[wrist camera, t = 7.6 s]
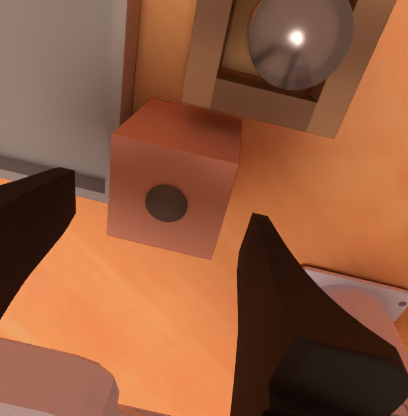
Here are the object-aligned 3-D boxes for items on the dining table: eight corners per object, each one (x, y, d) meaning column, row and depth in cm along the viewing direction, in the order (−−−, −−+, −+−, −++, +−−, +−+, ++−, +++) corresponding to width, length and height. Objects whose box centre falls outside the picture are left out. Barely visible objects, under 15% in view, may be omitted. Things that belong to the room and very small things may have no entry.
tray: (125, 188, 20) (114, 204, 19) (-44, 148, 20) (-70, 160, 18) (142, -18, 14) (128, -23, 13) (-96, -77, 14) (-143, -89, 13)
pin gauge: (297, 65, 15) (328, 99, 10) (241, 52, 15) (237, 78, 10) (319, -2, 14) (373, -12, 8) (257, -17, 14) (265, -37, 8)
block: (220, 196, 20) (211, 261, 15) (142, 178, 20) (106, 236, 15) (241, 119, 17) (239, 165, 12) (151, 97, 17) (110, 134, 12)
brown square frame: (320, 119, 17) (334, 139, 14) (191, 88, 17) (180, 101, 14) (389, -48, 13) (424, -63, 10) (222, -90, 13) (216, -115, 10)
